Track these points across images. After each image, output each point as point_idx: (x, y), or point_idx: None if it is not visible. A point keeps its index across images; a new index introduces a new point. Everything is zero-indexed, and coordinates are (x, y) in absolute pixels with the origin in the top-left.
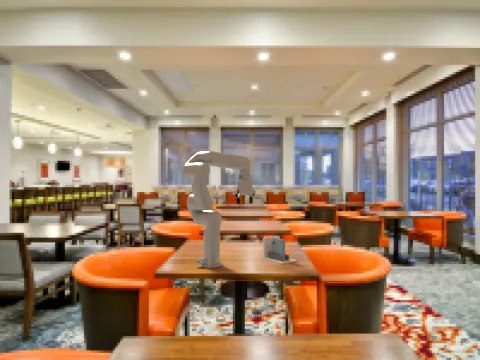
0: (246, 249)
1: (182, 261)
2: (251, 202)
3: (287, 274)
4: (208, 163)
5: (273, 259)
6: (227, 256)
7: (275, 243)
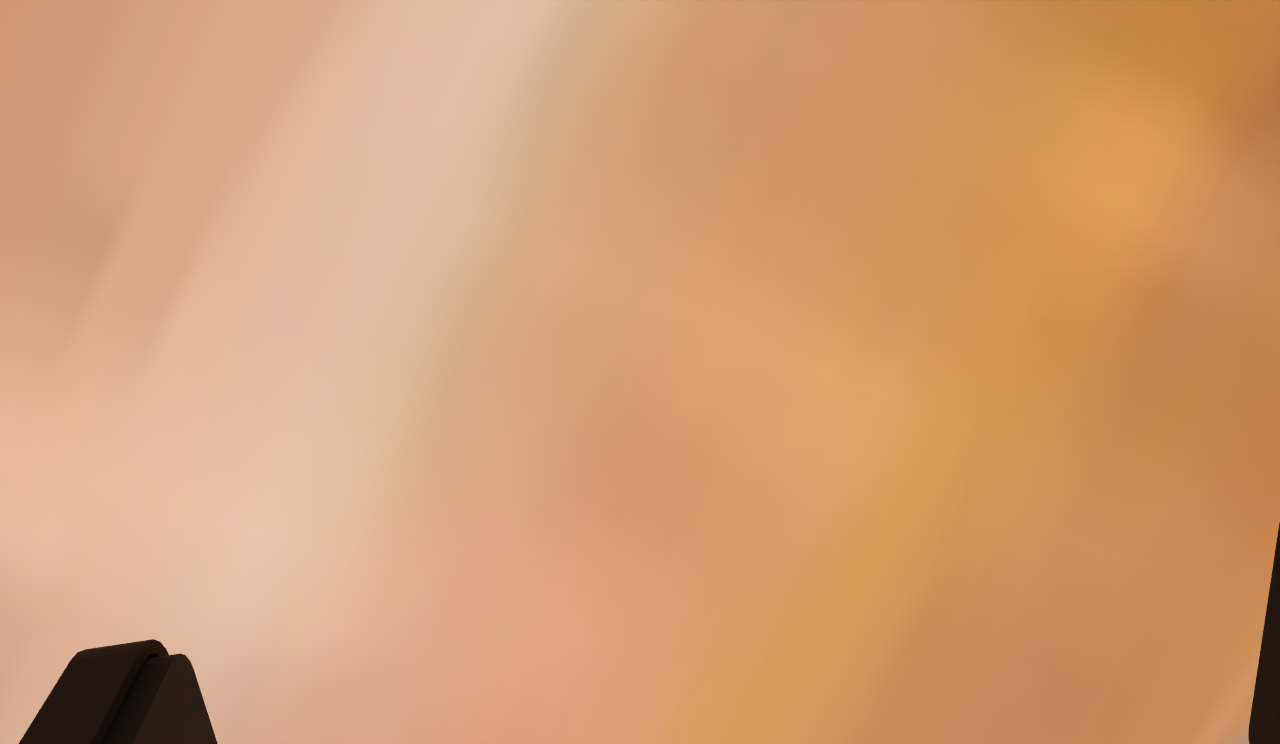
0: (365, 478)
1: None
2: (157, 701)
3: None
4: None
5: None
6: (866, 140)
7: None
